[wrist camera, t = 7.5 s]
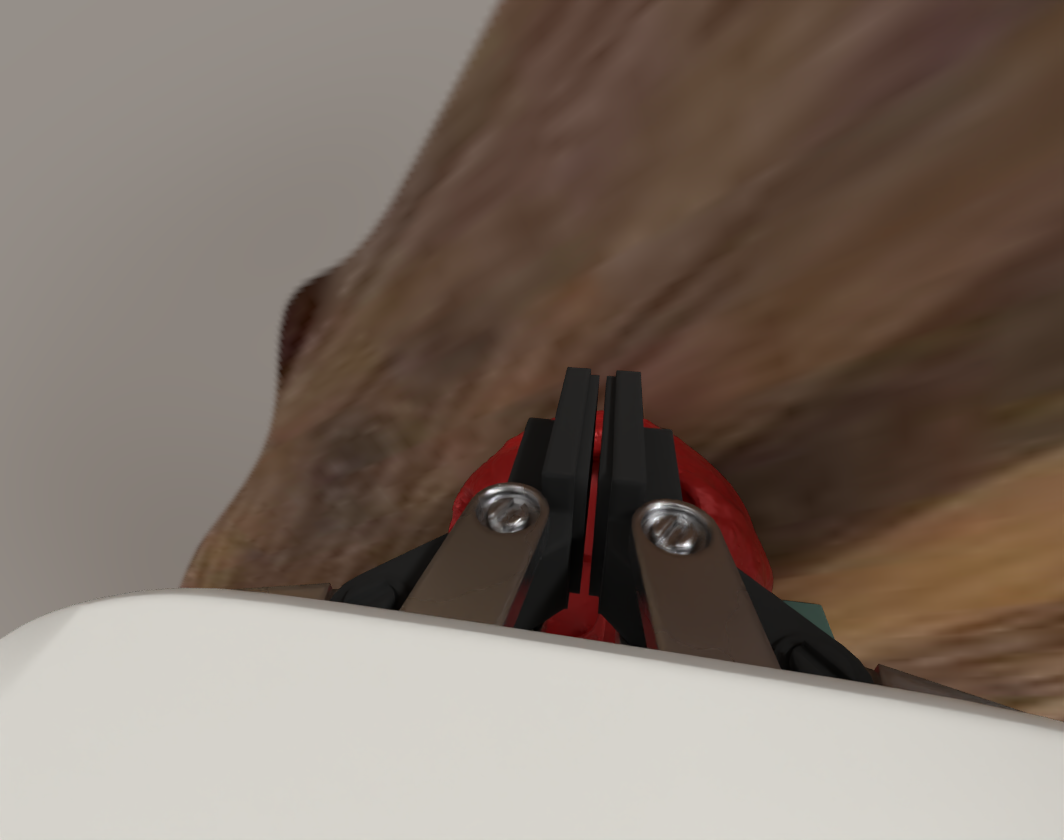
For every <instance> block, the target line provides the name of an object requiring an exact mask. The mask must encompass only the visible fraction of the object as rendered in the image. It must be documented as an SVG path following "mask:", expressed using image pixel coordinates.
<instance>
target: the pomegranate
mask: <svg viewBox="0 0 1064 840" xmlns="http://www.w3.org/2000/svg"><path fill="white" fill-rule="evenodd" d="M603 415H604V410H601V411H597V415H596V428H595V440H594V453H593V466H592V478H591V488H590V498H589V508H588V518H587V528H586V538H585V548H584V558H583V568H582V578H581V588H580V594H576V593H570V594H569V602H568V609H563V610H562V611H560V612H558V613H557V614H555V615H554V616H552V617H551V618H549V619H548V623H547V630H546V633H550V634H557V635H563V636H570V637H577V638H583V639H590V640H596V641H603V642H609V643H615V632H616V630H615V629H614V628H613V626H612V625H611V624H610V623H609V622H608V621H607V620H606V619H605V618H604V617H603V616H602V615H601V614H598V603H599V597H597V596H590V595H589V583H590V570H591V558H592V546H593V534H594V521H595V509H596V497H597V485H598V473H599V461H600V450H601V438H602V427H603ZM552 420H555V418H553V419H552ZM643 423H644V427H647V428H658V429H661V428H659V427H657V426H656V425H654V424H652V423H651V422H650V421H648V420H646V419H644V418H643ZM523 434H524V432H522V433H521V434H519V435H518V436H517V437H514V438H512V439H510V440H508V441H507V442H506V443H505V444H504V446H503V447H502V448H501V449H500V450H499V451H498V452H497V453H496V454H495V455H494V456H492V457H491V458H490V459H489V460H488V461H487V462H486V463H484V464H483V465H482V466H481V467H480V468H478V469H477V470H476V471H475V472H474V473H473V474H472V475H471V476H470V478H469V479H468V480H467V481H466V482H465V484H464V486H463V487H462V489H461V490H460V492H459V493H458V495H457V497H456V499H455V501H454V505H453V509H452V510H453V519H452V521H451V523H450V527H449V532H450V531H451V529H452V528H453V526H454V525H455V523H456V522H457V520H458V519H459V517H460V516H461V514H462V512H463V511H464V509H465V508H466V506H467V505H468V503H469V502H470V500H471V499H472V498H473V497H474V496H475V495H476V494H477V493H478V492H479V491H481V490H483V489H484V488H486V487H488V486H491V485H494V484H498V483H506V482H508V479H509V476H510V473H511V470H512V467H513V464H514V461H515V458H516V455H517V452H518V449H519V446H520V443H521V440H522V437H523ZM673 438H674V445H675V451H676V458H677V465H678V472H679V478H680V485H681V492H682V498H683V501H684V502H687V503H690V504H693V505H695V506H697V507H698V508H700V509H702V510H704V511H705V512H706V513H707V514H708V515H710V516H711V517H712V518H713V519H714V521H715V522H716V524H717V525H718V527H719V528H720V530H721V533H722V535H723V537H724V539H725V542H726V544H727V546H728V549H729V551H730V553H731V556H732V558H733V560H734V562H735V565H736V567H737V568H739V569H740V570H741V571H743V572H744V573H746V574H747V575H748V576H750V577H751V578H752V579H754V580H755V581H756V582H758V583H759V584H760V585H762V586H763V587H764V588H766V589H767V590H769V591H770V592H771V593H772V588H773V574H772V570H771V567H770V564H769V561H768V559H767V557H766V554H765V552H764V549H763V547H762V545H761V543H760V541H759V539H758V537H757V535H756V532H755V530H754V528H753V525H752V522H751V519H750V516H749V514H748V511H747V509H746V508H745V506H744V504H743V502H742V500H741V499H740V497H739V496H738V494H737V493H736V491H735V490H734V489H733V487H732V486H731V484H730V483H729V482H728V481H727V480H726V479H725V478H724V477H723V476H722V475H721V474H720V473H719V472H718V471H717V470H716V469H715V468H714V467H713V466H712V465H711V464H710V463H709V462H708V461H707V460H706V459H705V458H703V457H702V456H701V455H700V454H699V453H697V452H696V451H694V450H693V449H692V448H690V447H689V446H688V445H687V444H685V443H684V442H683V441H682V440H681V439H679V438H678V437H676V436H674V435H673ZM449 532H448V533H449Z"/></svg>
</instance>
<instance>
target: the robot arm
mask: <svg viewBox="0 0 1064 840" xmlns="http://www.w3.org/2000/svg"><path fill="white" fill-rule="evenodd" d="M598 389H599V375H591V369H587V368H572V367H568V368H567V371H566V375H565V379H564V384H563V388H562V392H561V396H560V400H559V404H558V408H557V412H556V416H555V420H552V419H540V418H529V420H528V422H527V425H526V428H525V431H524V434H523V437H522V440H521V443H520V446H519V449H518V452H517V455H516V458H515V461H514V464H513V467H512V470H511V473H510V476H509V479H508V482H506V483H498V484H494V485H491V486H488V487H486V488H484V489H483V490H481V491H479V492H478V493H477V494H476V495H475V496H474V497H473V498H472V499H471V500H470V502H469V503H468V505H467V506H466V508H465V509H464V511H463V512H462V514H461V516H460V517H459V519H458V520H457V522H456V523H455V525H454V526H453V528H452V529H451V531H450V532H449V533H447V534H444V535H442V536H440V537H438V538H436V539H434V540H432V541H430V542H428V543H426V544H424V545H421V546H419V547H417V548H415V549H413V550H411V551H409V552H407V553H405V554H403V555H400V556H398V557H396V558H394V559H392V560H390V561H388V562H386V563H384V564H382V565H380V566H377V567H375V568H373V569H371V570H369V571H367V572H365V573H363V574H361V575H359V576H357V577H355V578H353V579H352V580H350V581H348V582H347V583H345V584H344V585H343V586H342V587H341V588H340V589H332V587H331V584H330V583H323V584H308V585H292V586H277V587H262V588H246V589H231V590H229V589H217V588H172V589H159V590H146V591H135V592H129V593H124V594H119V595H113V596H108V597H102V598H97V599H93V600H89V601H85V602H82V603H78V604H74V605H71V606H68V607H65V608H62V609H59V610H56V611H53V612H50V613H47V614H45V615H43V616H41V617H38V618H36V619H34V620H32V621H30V622H28V623H26V624H24V625H22V626H20V627H18V628H17V629H15V630H13V631H12V632H10V633H9V634H7V635H5V636H4V637H2V638H0V840H1064V722H1062V721H1058V720H1054V719H1050V718H1047V717H1042V716H1038V715H1033V714H1029V713H1025V712H1022V711H1019V710H1016V709H1013V708H1010V707H1007V706H1004V705H1001V704H998V703H995V702H992V701H989V700H986V699H983V698H980V697H977V696H974V695H971V694H968V693H965V692H962V691H959V690H956V689H953V688H950V687H947V686H944V685H941V684H938V683H935V682H932V681H929V680H926V679H923V678H920V677H917V676H914V675H911V674H908V673H905V672H902V671H899V670H896V669H893V668H890V667H887V666H884V665H881V664H878V665H877V667H876V668H875V670H872V669H869V668H866V667H864V666H863V664H862V663H861V662H860V661H859V659H858V658H856V657H855V656H854V655H853V654H852V653H851V652H850V651H849V650H847V649H846V648H845V647H844V646H843V645H842V644H840V643H839V642H837V641H836V640H835V639H833V638H832V637H831V636H829V635H828V634H827V633H825V632H824V631H823V630H821V629H820V628H819V627H817V626H816V625H814V624H813V623H812V622H810V621H809V620H808V619H806V618H805V617H804V616H802V615H801V614H800V613H798V612H797V611H796V610H794V609H793V608H791V607H790V606H789V605H787V604H786V603H785V602H783V601H782V600H781V599H779V598H778V597H777V596H775V595H774V594H773V593H771V592H770V591H769V590H767V589H766V588H764V587H763V586H762V585H760V584H759V583H758V582H756V581H755V580H754V579H752V578H751V577H750V576H748V575H747V574H746V573H744V572H743V571H741V570H740V569H739V568H737V567H736V565H735V562H734V560H733V558H732V556H731V553H730V551H729V549H728V546H727V544H726V542H725V539H724V537H723V535H722V533H721V530H720V528H719V527H718V525H717V524H716V522H715V521H714V519H713V518H712V517H711V516H710V515H708V514H707V513H706V512H705V511H704V510H702V509H700V508H698V507H697V506H695V505H693V504H690V503H687V502H684V501H683V498H682V492H681V485H680V478H679V472H678V465H677V458H676V451H675V445H674V438H673V432H672V430H670V429H658V428H647V427H644V423H643V405H642V387H641V372H632V371H617V372H616V377H614V376H607V381H606V392H605V404H604V415H603V427H602V438H601V450H600V461H599V473H598V485H597V497H596V509H595V521H594V534H593V546H592V558H591V570H590V583H589V595H590V596H597V597H599V603H598V614H601V615H602V616H603V617H604V618H605V619H606V620H607V621H608V622H609V623H610V624H611V625H612V626H613V628H614V629H615V630H616V632H615V643H609V642H603V641H596V640H590V639H583V638H577V637H570V636H563V635H557V634H550V633H546V630H547V623H548V619H549V618H551V617H552V616H554V615H555V614H557V613H558V612H560V611H562V610H563V609H568V602H569V594H570V593H576V594H580V588H581V578H582V568H583V558H584V548H585V538H586V528H587V518H588V508H589V498H590V488H591V478H592V466H593V453H594V440H595V428H596V415H597V402H598Z"/></svg>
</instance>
